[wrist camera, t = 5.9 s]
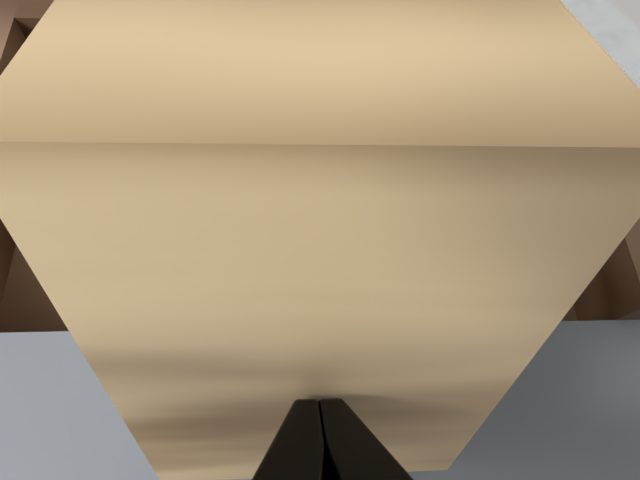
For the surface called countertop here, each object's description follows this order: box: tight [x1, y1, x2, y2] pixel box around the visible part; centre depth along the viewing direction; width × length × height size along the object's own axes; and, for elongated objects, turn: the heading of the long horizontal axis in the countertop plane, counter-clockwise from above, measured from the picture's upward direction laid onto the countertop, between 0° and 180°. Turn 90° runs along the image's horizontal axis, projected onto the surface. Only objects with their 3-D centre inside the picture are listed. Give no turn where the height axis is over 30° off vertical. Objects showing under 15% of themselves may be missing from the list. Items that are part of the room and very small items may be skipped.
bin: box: [0, 0, 640, 333], centre depth 18 cm, size 12×22×4 cm, turn 92°
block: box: [0, 0, 640, 480], centre depth 11 cm, size 7×7×10 cm
